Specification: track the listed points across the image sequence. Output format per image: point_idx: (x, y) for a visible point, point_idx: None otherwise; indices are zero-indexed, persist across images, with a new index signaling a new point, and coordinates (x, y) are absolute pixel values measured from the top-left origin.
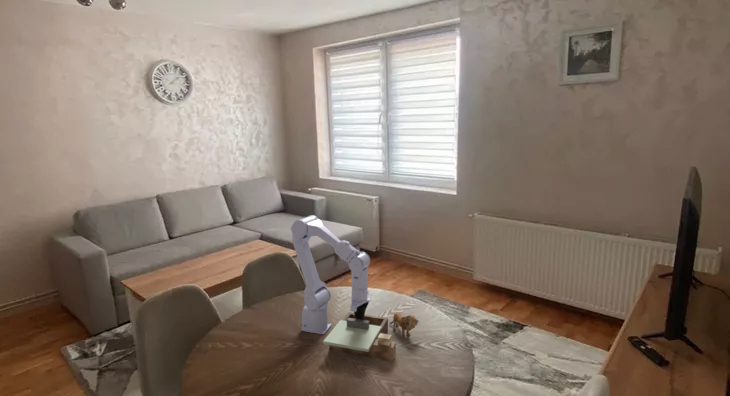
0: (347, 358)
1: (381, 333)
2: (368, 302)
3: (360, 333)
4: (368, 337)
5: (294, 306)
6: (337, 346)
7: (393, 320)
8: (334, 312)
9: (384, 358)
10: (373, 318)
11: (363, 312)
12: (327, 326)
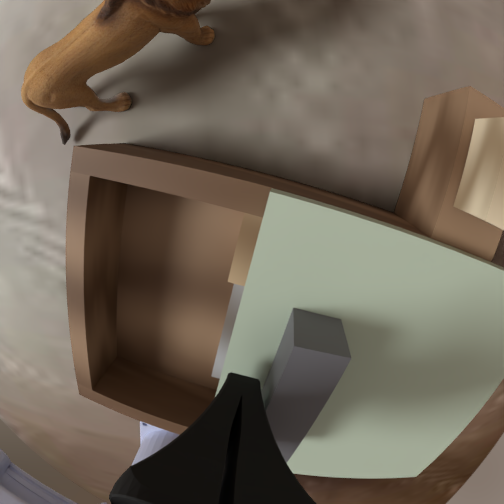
0: None
1: (491, 208)
2: (141, 500)
3: (389, 363)
4: (454, 304)
5: (80, 465)
6: None
7: (56, 117)
8: (53, 389)
9: None
10: (88, 259)
11: (280, 463)
12: (173, 435)
